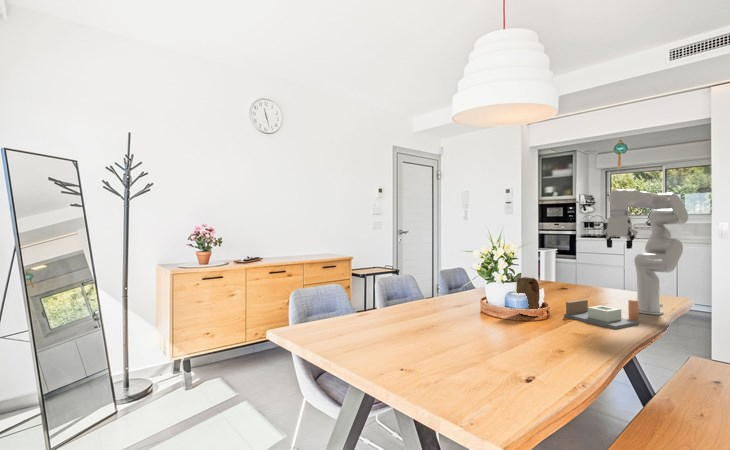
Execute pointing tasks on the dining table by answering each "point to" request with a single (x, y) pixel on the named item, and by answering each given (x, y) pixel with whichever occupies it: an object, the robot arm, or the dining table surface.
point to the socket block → (604, 313)
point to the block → (529, 290)
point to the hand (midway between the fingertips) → (619, 248)
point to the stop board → (580, 312)
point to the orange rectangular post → (633, 310)
